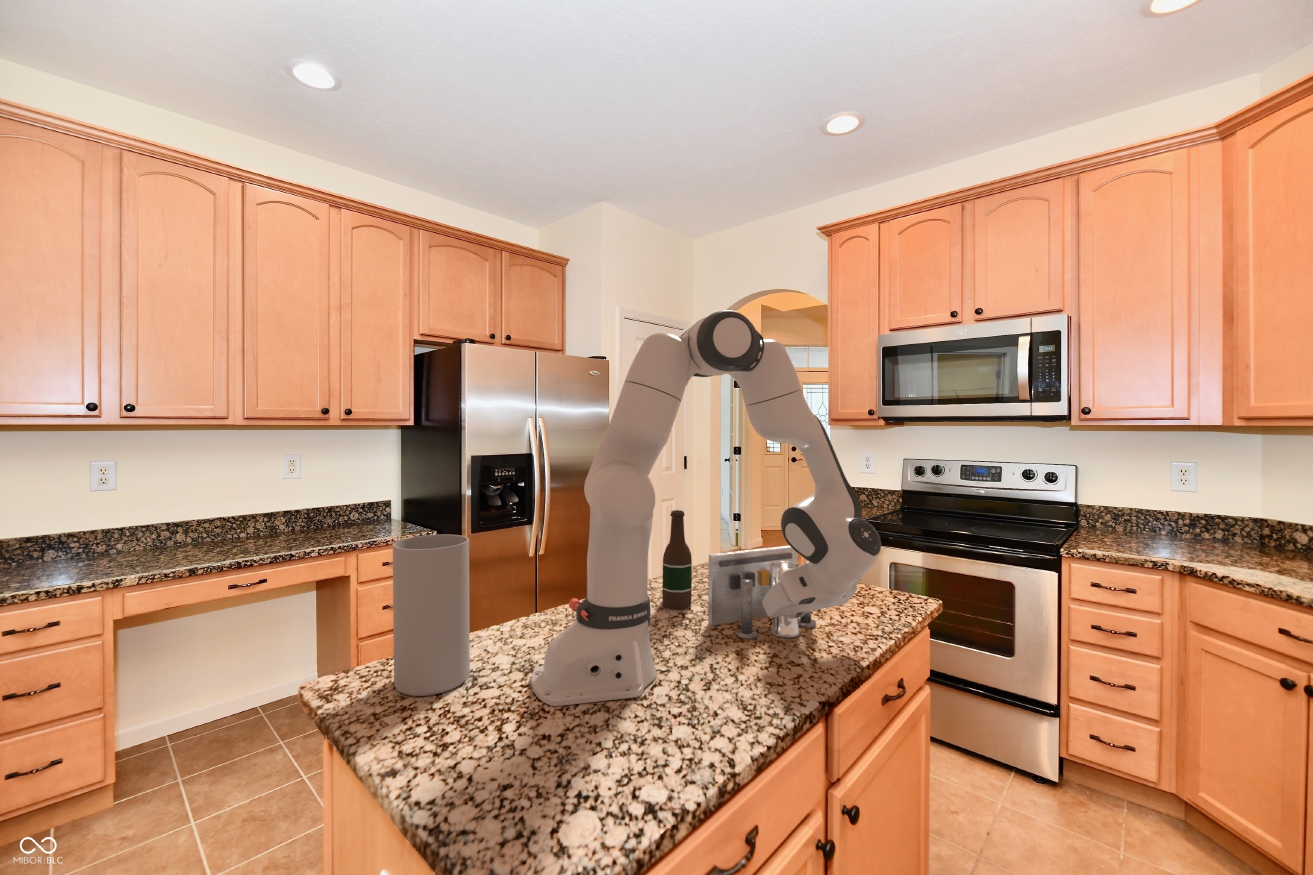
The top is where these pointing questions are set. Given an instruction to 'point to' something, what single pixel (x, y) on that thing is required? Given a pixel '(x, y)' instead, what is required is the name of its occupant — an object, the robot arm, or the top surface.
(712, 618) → the panel
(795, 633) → the beer glass
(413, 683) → the cylinder vase
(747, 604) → the post left
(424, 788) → the top surface
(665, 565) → the beer bottle
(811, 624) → the post right
